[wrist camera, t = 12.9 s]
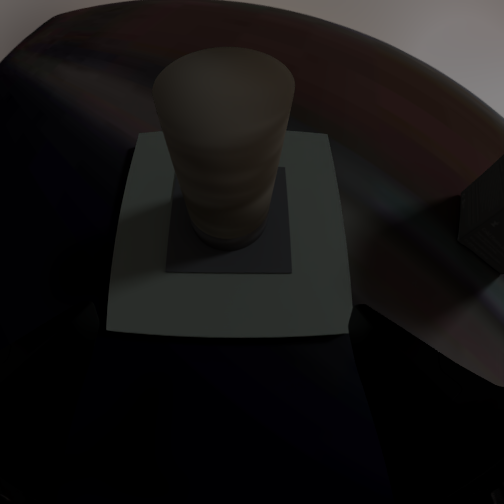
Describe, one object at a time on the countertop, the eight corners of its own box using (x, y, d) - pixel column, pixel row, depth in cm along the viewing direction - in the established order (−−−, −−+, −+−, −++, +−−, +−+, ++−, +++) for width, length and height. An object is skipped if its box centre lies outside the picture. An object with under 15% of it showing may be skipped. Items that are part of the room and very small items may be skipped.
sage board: (345, 333, 18) (355, 332, 17) (115, 331, 18) (104, 329, 16) (323, 145, 23) (328, 132, 22) (143, 144, 23) (138, 131, 21)
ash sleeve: (208, 263, 18) (172, 150, 7) (180, 199, 19) (139, 68, 9) (280, 232, 19) (324, 106, 8) (247, 173, 20) (256, 38, 10)
